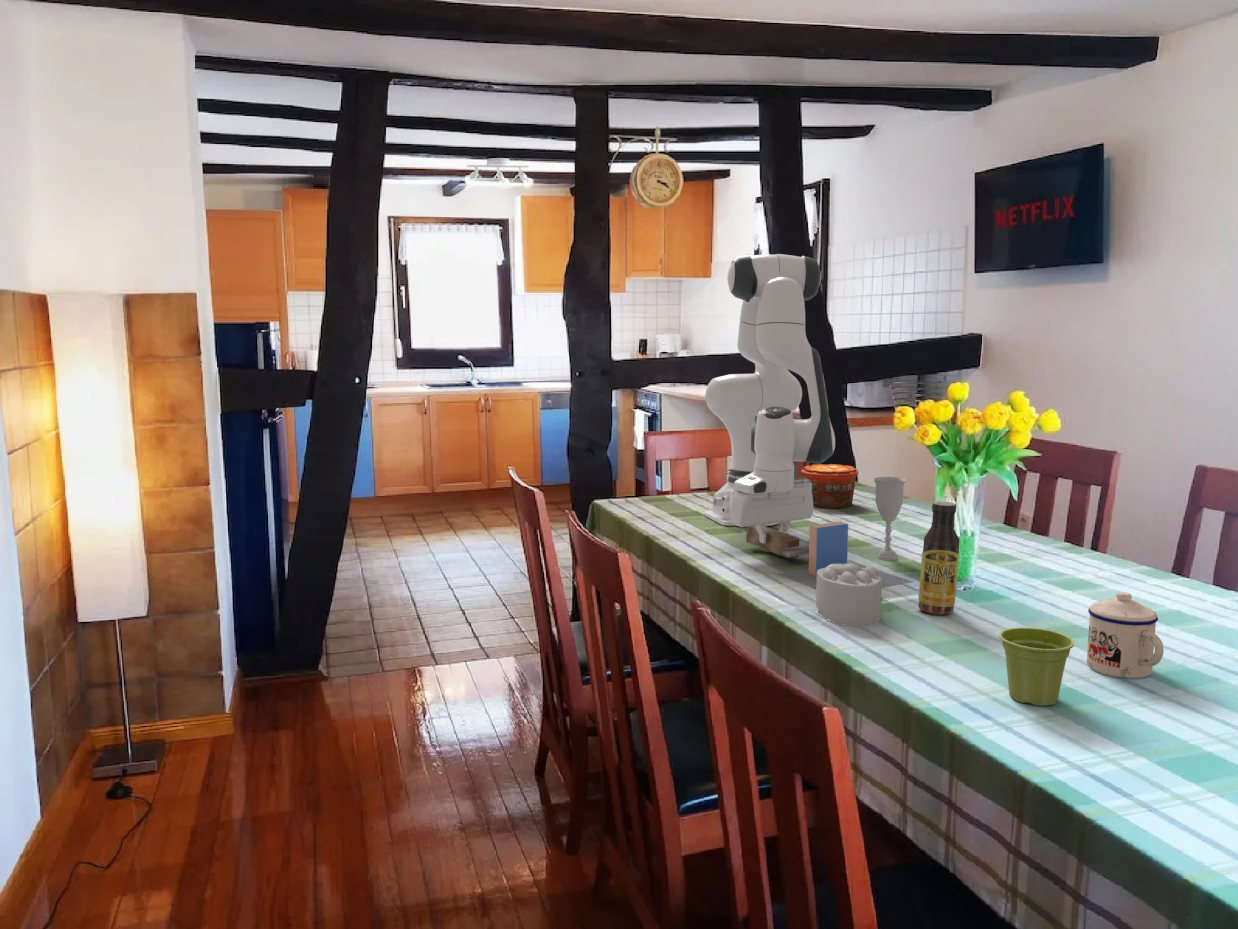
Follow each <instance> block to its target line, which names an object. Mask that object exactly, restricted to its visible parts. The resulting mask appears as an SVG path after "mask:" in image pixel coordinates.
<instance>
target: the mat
mask: <svg viewBox="0 0 1238 929" xmlns="http://www.w3.org/2000/svg"><path fill="white" fill-rule="evenodd" d="M847 563H855V564H857V565H858V566H860V567H861V568H866V567H868V566H866V565H863V564H861V563H856V562H854V561H849V562H848V561H847ZM876 570H877V573H878V576H879V577H880V578H881V579H882V588H887V587H892V586H897V585H903V584H908V583H909V584H910V583H913V582H914V581H913V580H910V579H906V578H903V577H901V576H897V575H895V574H892V573H887V572H884V571H882V570H878V569H876ZM777 575H779V576H781V577H783V578H786V579H789V580H791V581H794V582H796V583H799V584H802V585H805V586H807V587H809V588H813V589H815V590H816V584H817V576H815V575H812V574H810V573H809V568H806V569H799V570H794V571H792V570H791V571H787V572H781V573H777Z"/></svg>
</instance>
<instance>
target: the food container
mask: <svg viewBox="0 0 1238 929" xmlns="http://www.w3.org/2000/svg"><path fill="white" fill-rule="evenodd" d="M800 471H801V472H800V474H801V475H803V477H802V478H807V479H808V480H809V481H810V482H811V483H812V497H813V508H822V509H844V508H848V507H851V506H852V505H853V499H854V493H855V486H856V481H857V480H856V479H857V475H859V471H858V469H857V468H856V467H854V466H851V465H843V464H835V463H833V464H832V463H830V464H823V463H821V464H817V463H816V464H811V465H805V466H804V467H803V468H802V469H801V470H800ZM807 482H808V481H807Z"/></svg>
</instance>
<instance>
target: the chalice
mask: <svg viewBox="0 0 1238 929" xmlns="http://www.w3.org/2000/svg"><path fill="white" fill-rule="evenodd" d="M873 481H874V483H875V499H874V501H875V504H876V508H877V511H878V513H879V515H880V518H881V520H882V521H884V522H885V525H886V527H885V529H884V531H885V534H886V535H885V537H883V539H884V541H885V545H884V548H882V549H880V550H879V551H878V554H877V557H876V558H877V559H878V560H881V561H882V560H883V561H896V560H899V558H898V557H899V556H898V555H897V552H896V550H895V549H892V547H891V541H892V540H893V538H892V537H891V533H892V531H893V530H892V527H891V526H892V525H891V524H892V522H894V521H896V519H897V517H898V515H899V513H900V512H901V509H902V505H903V504H904V487H905V484H906V482H907V479H906V478H903V477H896V476H877V477H874V478H873Z"/></svg>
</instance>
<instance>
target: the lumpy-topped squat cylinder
mask: <svg viewBox="0 0 1238 929" xmlns="http://www.w3.org/2000/svg"><path fill="white" fill-rule="evenodd" d="M855 563H856V562H854V563H848V562H847V563H846V564H830V565H828V566H827V567H826V568H821V569H819V570H818V571H817V584H816V589H815V590H816V591H815V592H816V593H815V594H816V595H815V597H816V598H815V607H816V609H817V610H818V612H817V613H818V614H819V613H820V614H821V615H822V616H823V617H824V620H826V619H829V620H831V621H830V622H832V621H834V622H833V623H835V622H837V623H836V624H838V623H840V624H839V625H842V624H844V625H843V626H849V627H856V626H865V627H871V626H874V625H876V624H878V623H879V622H880V621H881V618H882V593H883V592H882V591H883V590H882V588H883V587H882V579H881V578H880V577H879V576H878V573H877V570H878V569H876V568H875V567H873V566H867V567H866V568H861V567H860V566H858V565H857V564H858V563H857V564H855ZM820 614H819V615H820ZM821 615H820V616H821ZM822 616H821V617H822ZM823 617H822V618H823ZM829 620H828V621H829ZM879 620H880V621H879Z"/></svg>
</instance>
